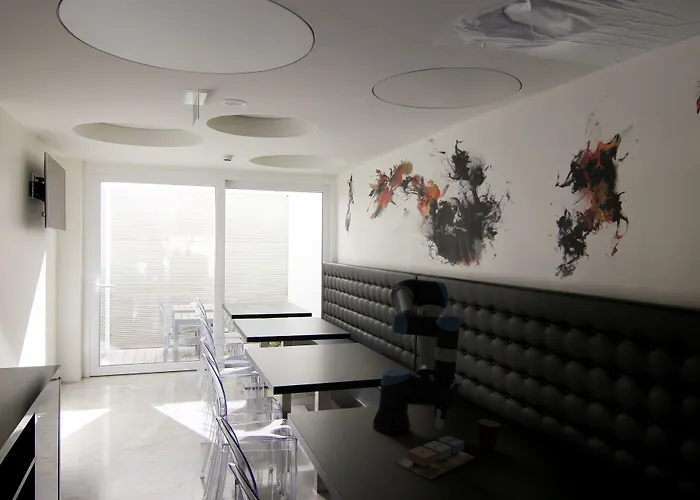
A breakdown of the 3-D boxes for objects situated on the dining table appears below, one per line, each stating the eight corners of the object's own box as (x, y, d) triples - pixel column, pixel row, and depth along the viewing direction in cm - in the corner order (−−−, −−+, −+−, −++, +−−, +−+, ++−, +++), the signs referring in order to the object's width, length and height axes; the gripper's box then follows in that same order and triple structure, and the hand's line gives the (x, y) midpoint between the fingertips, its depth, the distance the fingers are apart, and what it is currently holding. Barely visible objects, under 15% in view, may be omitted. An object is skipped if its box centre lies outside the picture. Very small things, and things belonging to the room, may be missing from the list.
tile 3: (436, 447, 179) (437, 439, 179) (447, 442, 185) (447, 435, 185) (453, 453, 175) (454, 445, 175) (464, 449, 180) (464, 441, 180)
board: (395, 464, 168) (396, 456, 168) (440, 445, 188) (441, 438, 188) (430, 479, 158) (431, 471, 158) (474, 458, 178) (474, 451, 178)
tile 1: (407, 459, 166) (407, 450, 166) (419, 454, 171) (419, 446, 171) (424, 466, 161) (425, 458, 161) (436, 461, 167) (437, 453, 167)
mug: (497, 458, 181) (500, 430, 181) (474, 453, 183) (477, 426, 183) (497, 447, 191) (499, 421, 191) (475, 443, 193) (477, 417, 193)
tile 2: (422, 452, 173) (423, 444, 173) (433, 448, 178) (434, 440, 178) (439, 460, 168) (440, 451, 168) (450, 455, 173) (451, 447, 173)
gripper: (423, 356, 175) (417, 424, 175) (456, 364, 166) (449, 435, 166) (435, 354, 180) (429, 420, 180) (467, 362, 171) (461, 431, 171)
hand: (439, 427), depth 173 cm, fingers closed
